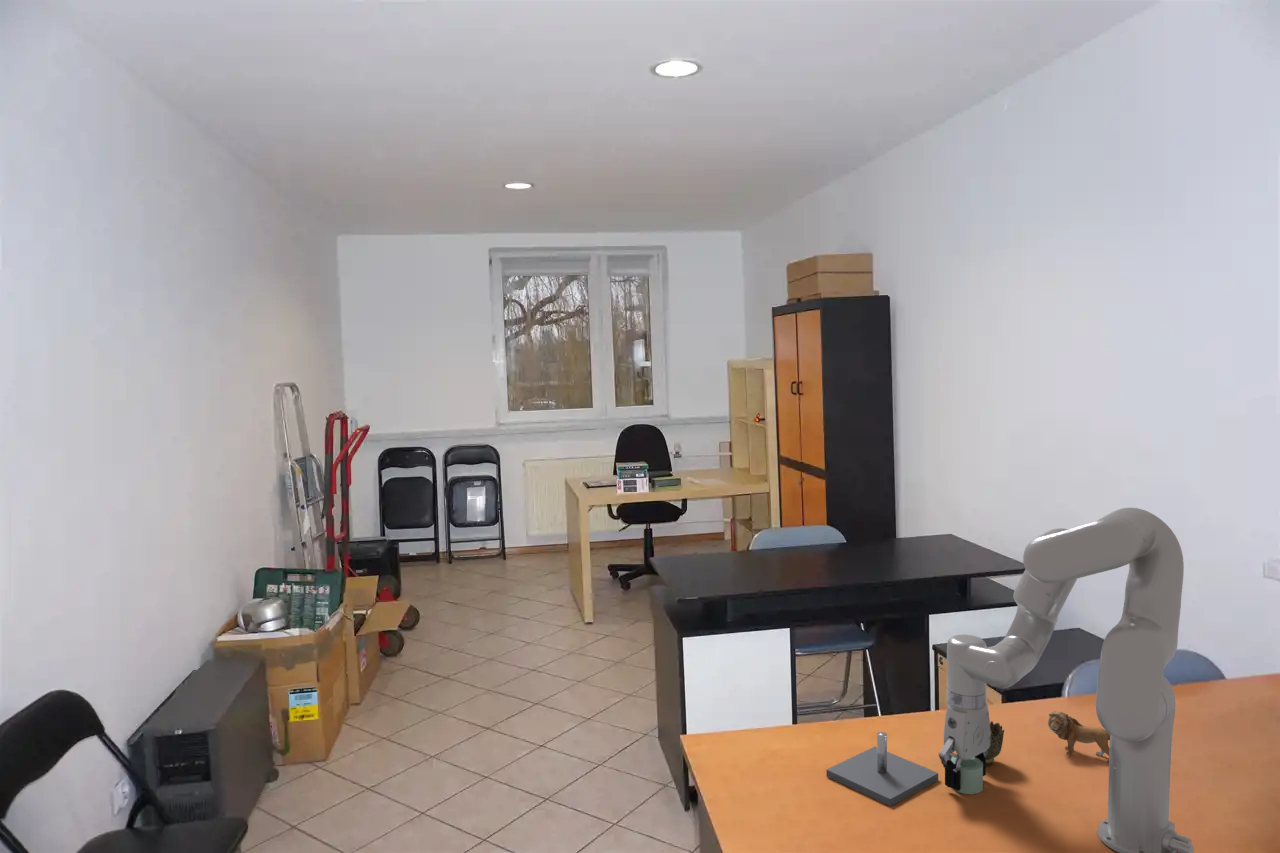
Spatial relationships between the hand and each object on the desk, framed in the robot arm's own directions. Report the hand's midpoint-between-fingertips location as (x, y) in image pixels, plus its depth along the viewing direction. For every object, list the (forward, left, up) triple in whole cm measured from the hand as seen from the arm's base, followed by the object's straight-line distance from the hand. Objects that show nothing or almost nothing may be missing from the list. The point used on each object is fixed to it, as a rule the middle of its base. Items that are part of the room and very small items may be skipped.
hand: (965, 780), depth 182 cm
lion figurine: (-9, -30, -1) cm, 32 cm away
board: (+13, +10, -1) cm, 16 cm away
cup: (+3, -12, -1) cm, 12 cm away
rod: (+13, +10, 0) cm, 16 cm away
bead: (0, 0, -1) cm, 1 cm away
